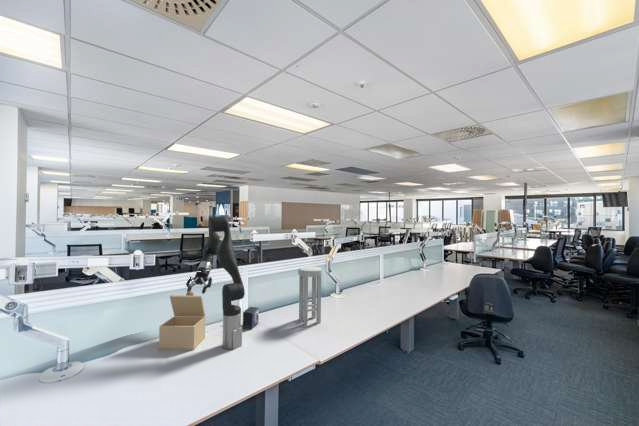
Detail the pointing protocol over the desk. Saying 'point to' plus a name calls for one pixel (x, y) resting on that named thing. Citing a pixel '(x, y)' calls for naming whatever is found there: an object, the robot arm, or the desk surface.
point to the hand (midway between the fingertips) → (195, 293)
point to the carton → (181, 333)
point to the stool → (303, 306)
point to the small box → (250, 318)
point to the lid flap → (187, 305)
